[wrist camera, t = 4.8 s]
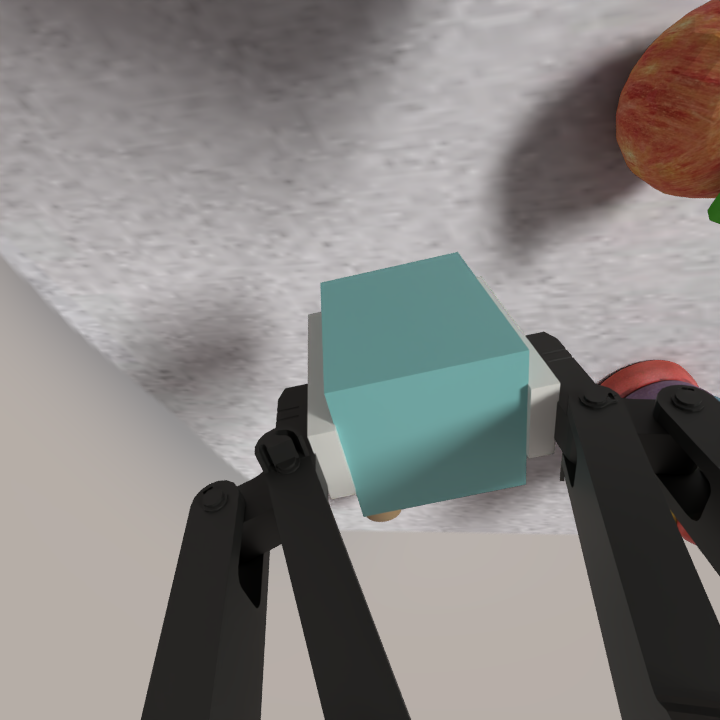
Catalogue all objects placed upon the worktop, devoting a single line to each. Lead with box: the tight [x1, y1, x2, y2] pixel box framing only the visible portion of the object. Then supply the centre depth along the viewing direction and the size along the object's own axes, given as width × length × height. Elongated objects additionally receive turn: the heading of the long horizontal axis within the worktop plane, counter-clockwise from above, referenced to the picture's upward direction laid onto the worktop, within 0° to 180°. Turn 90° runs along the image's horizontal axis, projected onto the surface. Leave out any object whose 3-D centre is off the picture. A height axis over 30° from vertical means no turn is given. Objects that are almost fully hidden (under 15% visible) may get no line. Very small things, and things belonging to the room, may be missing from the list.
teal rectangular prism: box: [321, 252, 529, 517], centre depth 15 cm, size 5×5×7 cm
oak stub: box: [366, 510, 401, 522], centre depth 38 cm, size 3×3×4 cm
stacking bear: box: [601, 360, 720, 545], centre depth 31 cm, size 11×10×18 cm
